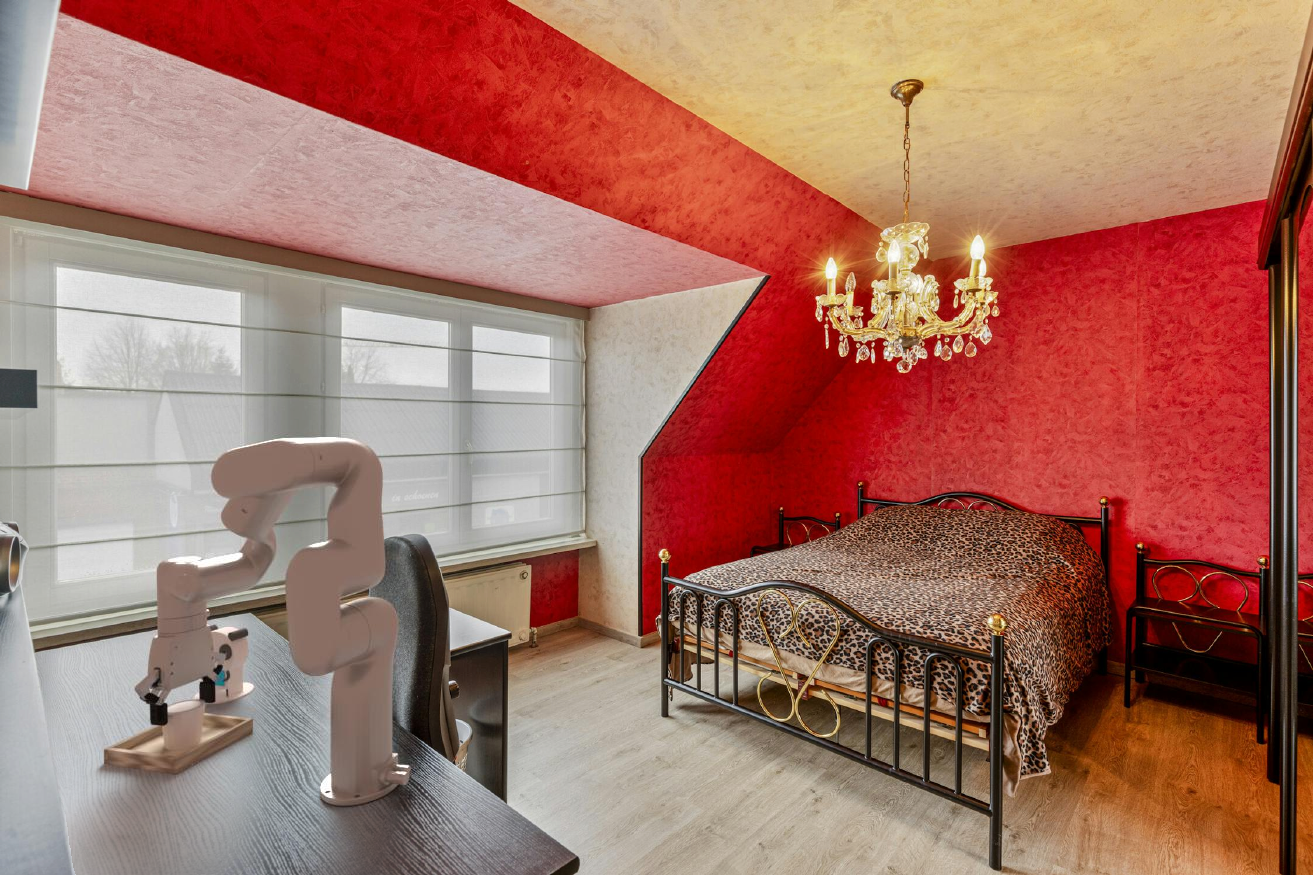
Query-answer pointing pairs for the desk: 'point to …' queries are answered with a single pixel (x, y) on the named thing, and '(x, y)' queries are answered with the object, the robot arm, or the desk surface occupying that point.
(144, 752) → the tray
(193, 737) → the white cup
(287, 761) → the desk surface
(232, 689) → the panda figurine
